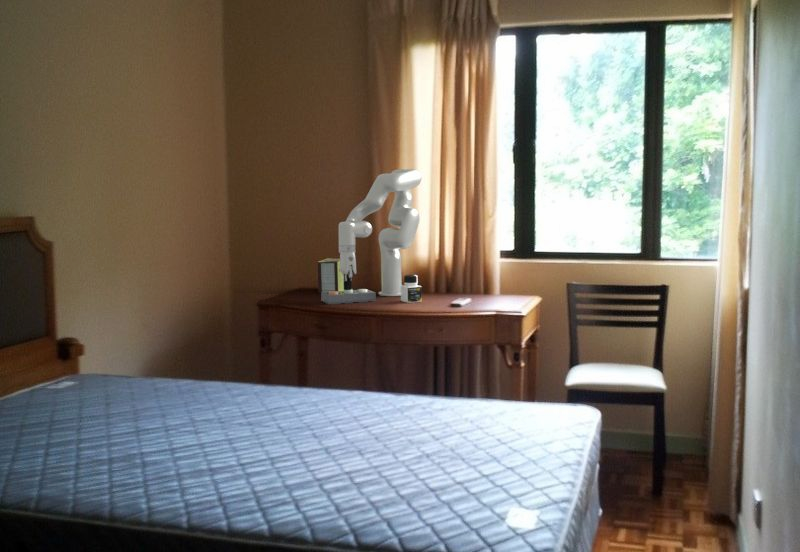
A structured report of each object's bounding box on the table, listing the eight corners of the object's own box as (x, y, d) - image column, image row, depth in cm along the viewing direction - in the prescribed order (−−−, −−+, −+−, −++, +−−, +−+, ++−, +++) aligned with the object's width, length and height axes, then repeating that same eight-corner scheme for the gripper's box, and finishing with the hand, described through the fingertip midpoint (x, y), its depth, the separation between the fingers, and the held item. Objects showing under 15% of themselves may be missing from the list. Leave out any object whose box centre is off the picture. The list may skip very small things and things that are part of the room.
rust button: (336, 297, 393) (336, 290, 393) (339, 298, 389) (339, 291, 389) (327, 298, 392) (327, 291, 391) (330, 299, 388) (330, 292, 387)
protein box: (347, 289, 434) (346, 258, 432) (338, 293, 419) (337, 261, 417) (327, 289, 437) (326, 258, 435) (317, 293, 422) (316, 261, 420)
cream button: (365, 295, 398) (365, 288, 398) (369, 296, 394) (369, 289, 394) (356, 296, 397) (356, 289, 396) (360, 297, 393) (359, 290, 392)
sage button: (351, 295, 396) (351, 288, 395) (354, 296, 392) (354, 289, 391) (342, 296, 394) (342, 289, 394) (345, 297, 390) (345, 290, 390)
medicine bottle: (408, 303, 385) (407, 276, 383) (400, 301, 391) (400, 274, 390) (422, 301, 388) (421, 275, 387) (414, 299, 394) (414, 273, 393)
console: (366, 297, 403) (366, 289, 402) (375, 301, 392) (375, 292, 391) (321, 301, 395) (321, 292, 394) (329, 304, 384) (329, 295, 383)
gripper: (360, 250, 385) (360, 291, 387) (349, 247, 399) (350, 287, 401) (344, 250, 382) (344, 292, 384) (334, 248, 396) (334, 288, 398)
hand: (347, 289), depth 392 cm, fingers closed
